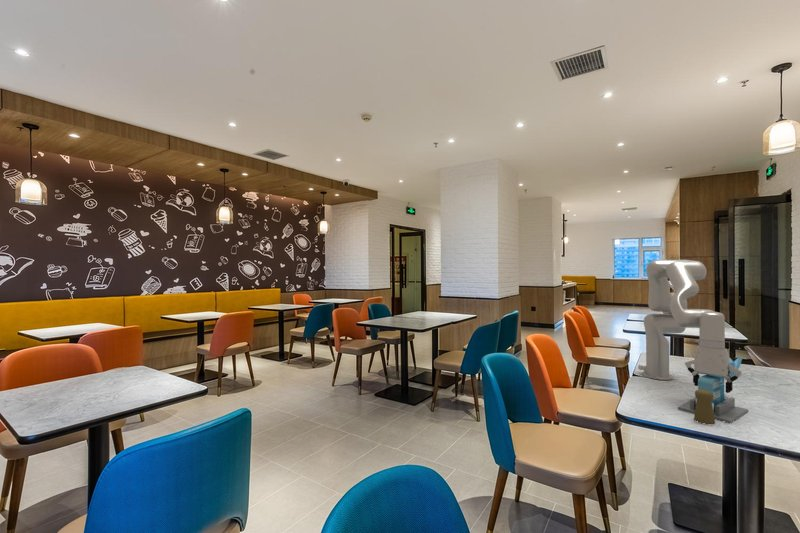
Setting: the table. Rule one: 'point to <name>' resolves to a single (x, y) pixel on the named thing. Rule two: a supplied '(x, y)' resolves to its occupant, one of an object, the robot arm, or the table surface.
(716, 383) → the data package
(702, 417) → the cork
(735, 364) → the teapot
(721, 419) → the tray
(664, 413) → the table surface
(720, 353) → the robot arm
